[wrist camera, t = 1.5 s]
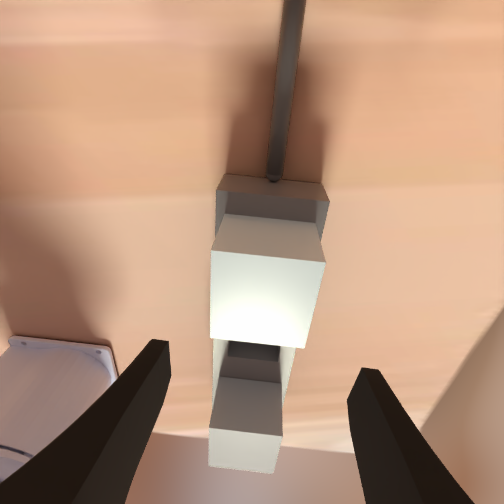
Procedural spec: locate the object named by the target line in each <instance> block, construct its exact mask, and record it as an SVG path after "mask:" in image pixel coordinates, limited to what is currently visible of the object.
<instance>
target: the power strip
mask: <svg viewBox="0 0 504 504" xmlns="http://www.w3.org/2000/svg"><path fill="white" fill-rule="evenodd" d="M305 5H306V0H284V3H283V13H282V22H281V32H280V41H279V51H278V60H277V70H276V79H275V89H274V98H273V108H272V118H271V127H270V137H269V146H268V156H267V165H266V177H267V178H261V177H251V176H241V175H231V174H224V176H223V178H222V180H221V182H220V184H219V186H218V187H217V189H216V226H215V238H216V236H217V233H218V230H219V228H220V225H221V222H222V220H223V217H224V214H233V215H243V216H253V217H262V218H272V219H282V220H291V221H301V222H310V223H316V227H317V231H318V234H319V238H320V242H321V238H322V233H323V229H324V224H325V220H326V216H327V211H328V207H329V203H330V201H329V199H328V196H327V194H326V192H325V189H324V187H323V184H320V183H310V182H300V181H291V180H281V177H282V174H283V168H284V160H285V153H286V145H287V138H288V131H289V123H290V116H291V108H292V101H293V94H294V86H295V79H296V71H297V64H298V57H299V49H300V42H301V34H302V27H303V20H304V12H305ZM295 351H296V347H287V346H278V345H269V344H260V343H251V342H242V341H233V340H225V339H216V338H213V388H212V415H211V420H210V425H209V466H212V467H221V468H228V469H236V470H245V471H254V472H261V473H270V474H273V472H274V469H275V465H276V461H277V457H278V453H279V449H280V445H281V441H282V437H283V433H282V408H283V403H284V399H285V395H286V390H287V386H288V381H289V377H290V373H291V368H292V364H293V360H294V355H295Z"/></svg>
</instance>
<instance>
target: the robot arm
mask: <svg viewBox="0 0 504 504" xmlns="http://www.w3.org/2000/svg"><path fill="white" fill-rule="evenodd" d="M8 342H9V344H10V347H9V348H8V349H7V350H6V351H5V352H4V353H3V354H2V355H1V356H0V504H125V501H126V498H127V494H128V492H129V488H130V485H131V483H132V480H133V477H134V475H135V472H136V469H137V466H138V464H139V461H140V459H141V457H142V454H143V452H144V450H145V447H146V445H147V442H148V440H149V437H150V435H151V432H152V430H153V428H154V425H155V423H156V420H157V418H158V415H159V413H160V410H161V408H162V405H163V402H164V399H165V396H166V392H167V389H168V385H169V382H170V378H171V365H170V352H169V341H164V340H156V339H152V340H150V341H149V342H148V344H147V345H146V346H145V347H144V349H143V350H142V351H141V352H140V353H139V355H138V356H137V357H136V358H135V359H134V360H133V362H132V363H131V364H130V365H129V366H128V367H127V368H126V370H125V371H124V372H123V373H122V374H121V375H120V376H119V377H118V376H117V372H116V368H115V364H114V360H113V356H112V351H111V349H110V348H109V347H107V346H102V345H93V344H84V343H75V342H66V341H58V340H49V339H40V338H31V337H22V336H11V337H10V338H9V339H8ZM347 405H348V416H349V425H350V432H351V437H352V441H353V446H354V451H355V456H356V460H357V465H358V469H359V474H360V478H361V483H362V487H363V492H364V496H365V501H366V504H474V503H473V501H472V500H471V499H470V498H469V496H468V495H467V494H466V493H465V492H464V490H463V489H462V488H461V487H460V485H459V484H458V483H457V482H456V480H455V479H454V478H453V477H452V475H451V474H450V473H449V471H448V470H447V469H446V468H445V466H444V465H443V464H442V462H441V461H440V459H439V458H438V457H437V455H436V454H435V453H434V452H433V450H432V449H431V447H430V446H429V445H428V443H427V442H426V440H425V439H424V438H423V436H422V435H421V433H420V432H419V430H418V429H417V427H416V426H415V424H414V423H413V422H412V420H411V419H410V417H409V416H408V414H407V413H406V411H405V410H404V408H403V407H402V405H401V403H400V402H399V400H398V399H397V397H396V396H395V394H394V393H393V391H392V390H391V388H390V386H389V385H388V383H387V382H386V380H385V379H384V377H383V375H382V374H381V372H380V371H379V370H377V369H370V368H361V370H360V373H359V375H358V377H357V379H356V381H355V384H354V386H353V388H352V390H351V392H350V394H349V397H348V399H347Z"/></svg>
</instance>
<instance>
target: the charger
mask: <svg viewBox="0 0 504 504" xmlns="http://www.w3.org/2000/svg"><path fill="white" fill-rule="evenodd" d="M325 264H326V261H325V257H324V253H323V250H322V246H321V242H320V238H319V234H318V231H317V227H316V223H310V222H301V221H291V220H282V219H272V218H262V217H253V216H243V215H233V214H224V217H223V220H222V222H221V225H220V228H219V230H218V233H217V236H216V238H215V241H214V243H213V246H212V249H211V290H210V338H216V339H225V340H233V341H242V342H251V343H260V344H269V345H278V346H287V347H296V348H305V344H306V340H307V336H308V332H309V328H310V324H311V320H312V316H313V312H314V308H315V304H316V300H317V296H318V292H319V288H320V284H321V280H322V276H323V272H324V268H325Z"/></svg>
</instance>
